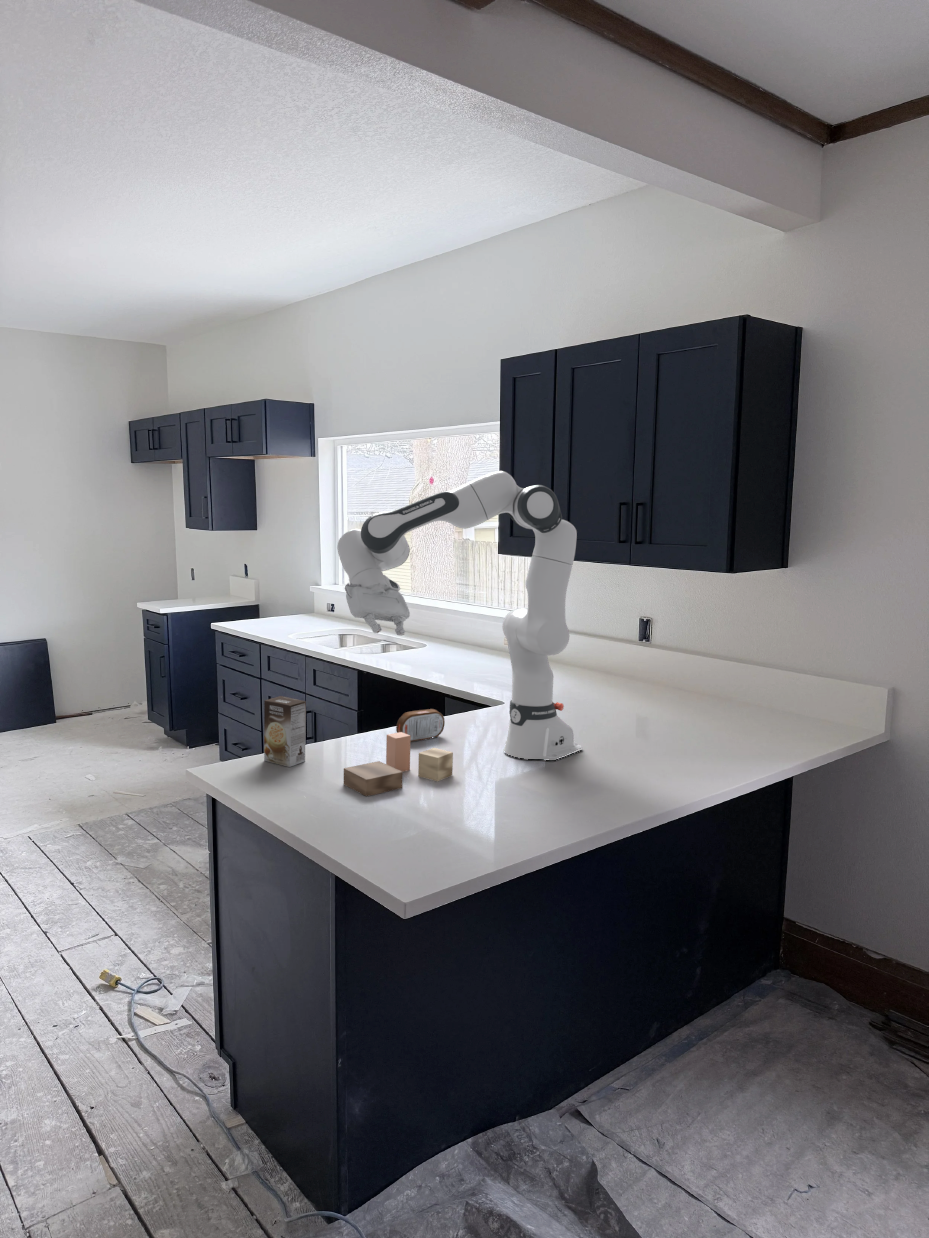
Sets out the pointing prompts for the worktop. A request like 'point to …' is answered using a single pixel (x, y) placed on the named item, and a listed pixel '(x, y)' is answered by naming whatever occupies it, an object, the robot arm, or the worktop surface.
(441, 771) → the oak cube
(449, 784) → the worktop surface
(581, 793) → the worktop surface
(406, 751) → the terracotta block
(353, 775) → the walnut block
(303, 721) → the coffee box
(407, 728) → the tin
